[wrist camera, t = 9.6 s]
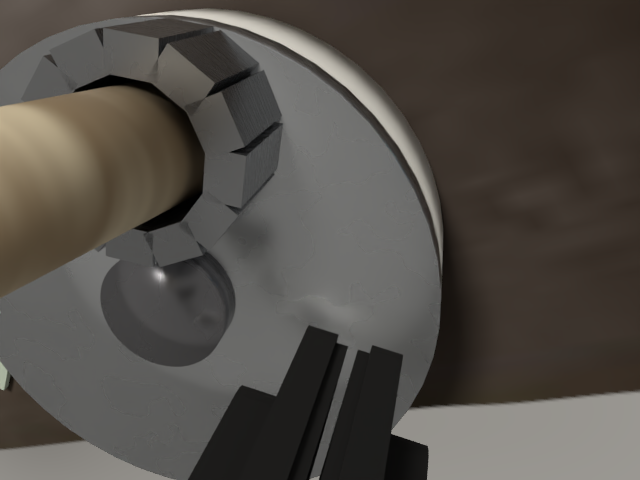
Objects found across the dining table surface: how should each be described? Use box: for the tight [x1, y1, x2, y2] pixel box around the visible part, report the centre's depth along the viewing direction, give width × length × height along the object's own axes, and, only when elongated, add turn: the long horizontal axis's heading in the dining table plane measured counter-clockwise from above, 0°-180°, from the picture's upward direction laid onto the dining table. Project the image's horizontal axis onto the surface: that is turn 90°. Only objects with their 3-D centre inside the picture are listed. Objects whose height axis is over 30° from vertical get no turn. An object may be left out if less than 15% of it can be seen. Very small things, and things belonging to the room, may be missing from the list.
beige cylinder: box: [0, 81, 205, 298], centre depth 14 cm, size 4×4×14 cm
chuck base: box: [139, 8, 443, 287], centre depth 27 cm, size 21×21×4 cm
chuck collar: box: [0, 15, 442, 480], centre depth 23 cm, size 21×21×6 cm
